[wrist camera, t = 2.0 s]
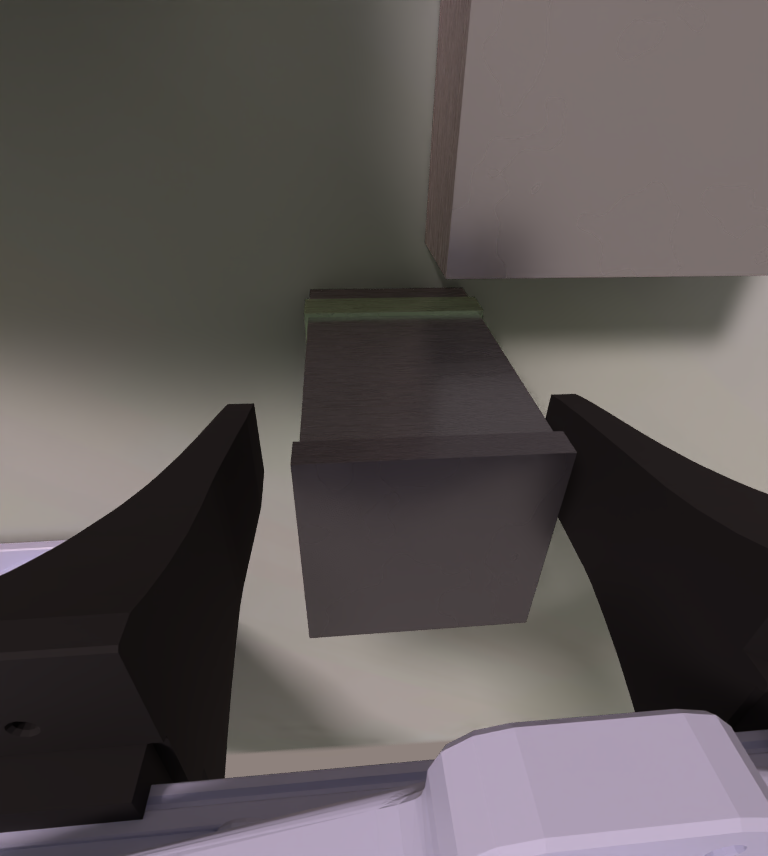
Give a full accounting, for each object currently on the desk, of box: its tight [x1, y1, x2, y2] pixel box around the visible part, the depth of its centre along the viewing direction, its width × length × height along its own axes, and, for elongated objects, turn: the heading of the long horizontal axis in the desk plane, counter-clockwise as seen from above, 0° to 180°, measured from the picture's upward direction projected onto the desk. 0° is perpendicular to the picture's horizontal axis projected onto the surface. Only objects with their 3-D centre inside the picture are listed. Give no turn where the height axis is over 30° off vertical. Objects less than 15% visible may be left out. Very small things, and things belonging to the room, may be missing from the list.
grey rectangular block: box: [291, 288, 577, 638], centre depth 13 cm, size 5×5×8 cm
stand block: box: [425, 0, 768, 279], centre depth 10 cm, size 9×8×4 cm
